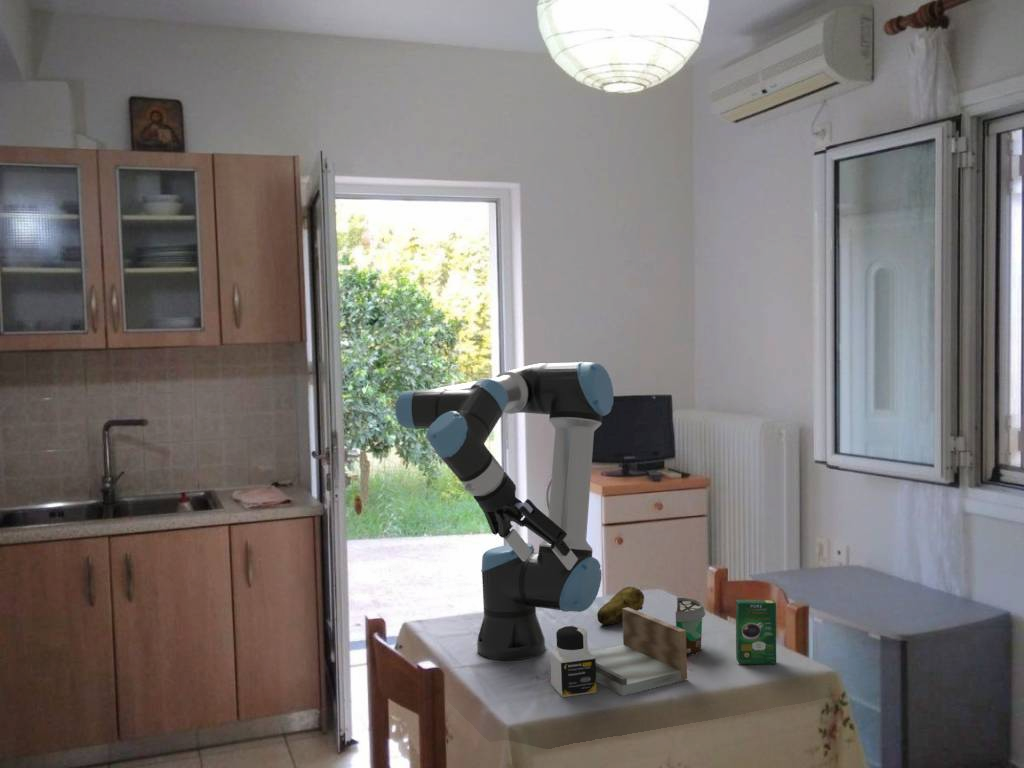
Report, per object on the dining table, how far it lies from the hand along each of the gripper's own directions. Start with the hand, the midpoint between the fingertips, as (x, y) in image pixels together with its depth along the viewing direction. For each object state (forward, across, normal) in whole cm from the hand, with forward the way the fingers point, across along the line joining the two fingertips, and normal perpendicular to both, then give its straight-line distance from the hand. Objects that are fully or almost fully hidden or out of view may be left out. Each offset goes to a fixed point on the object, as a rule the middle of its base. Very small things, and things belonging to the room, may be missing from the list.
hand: (549, 560), depth 181 cm
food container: (+45, 0, +13) cm, 46 cm away
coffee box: (+47, +15, +15) cm, 52 cm away
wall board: (+31, +1, -3) cm, 31 cm away
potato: (+46, -25, +16) cm, 55 cm away
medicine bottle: (+23, 0, -13) cm, 27 cm away
